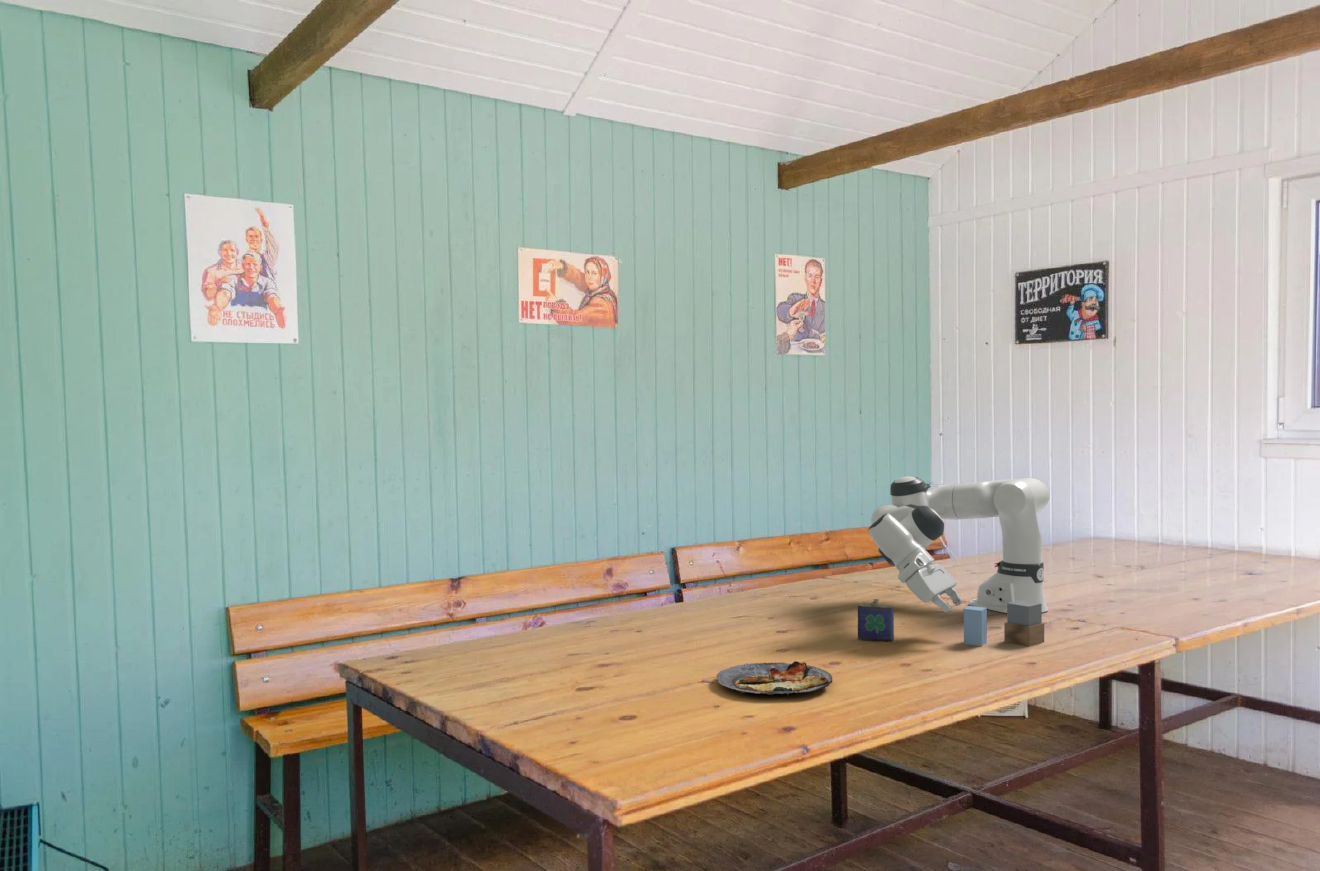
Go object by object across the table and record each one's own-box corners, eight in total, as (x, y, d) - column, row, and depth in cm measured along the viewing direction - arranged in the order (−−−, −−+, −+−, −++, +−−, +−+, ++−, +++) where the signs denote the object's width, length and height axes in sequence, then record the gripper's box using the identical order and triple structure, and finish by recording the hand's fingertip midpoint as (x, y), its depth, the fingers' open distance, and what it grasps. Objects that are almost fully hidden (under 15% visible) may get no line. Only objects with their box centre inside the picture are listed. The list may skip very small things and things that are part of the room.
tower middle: (1007, 622, 249) (1007, 603, 249) (1020, 619, 253) (1020, 600, 253) (1028, 626, 245) (1028, 606, 244) (1041, 623, 248) (1041, 603, 248)
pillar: (963, 644, 247) (963, 608, 247) (968, 640, 251) (968, 605, 250) (981, 646, 244) (981, 610, 244) (986, 642, 248) (986, 607, 248)
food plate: (821, 669, 223) (820, 654, 223) (843, 700, 200) (843, 683, 200) (712, 674, 222) (712, 658, 222) (722, 705, 199) (722, 688, 199)
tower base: (1004, 641, 249) (1004, 622, 249) (1019, 637, 254) (1019, 618, 254) (1029, 646, 244) (1029, 626, 244) (1044, 642, 248) (1044, 623, 248)
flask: (894, 639, 252) (893, 598, 252) (893, 642, 249) (893, 600, 249) (857, 637, 255) (857, 597, 254) (857, 640, 252) (856, 599, 252)
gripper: (922, 568, 265) (958, 607, 259) (895, 579, 248) (933, 622, 242) (938, 553, 262) (975, 592, 257) (912, 563, 245) (950, 606, 240)
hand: (954, 607), depth 249 cm, fingers open, 8 cm apart
